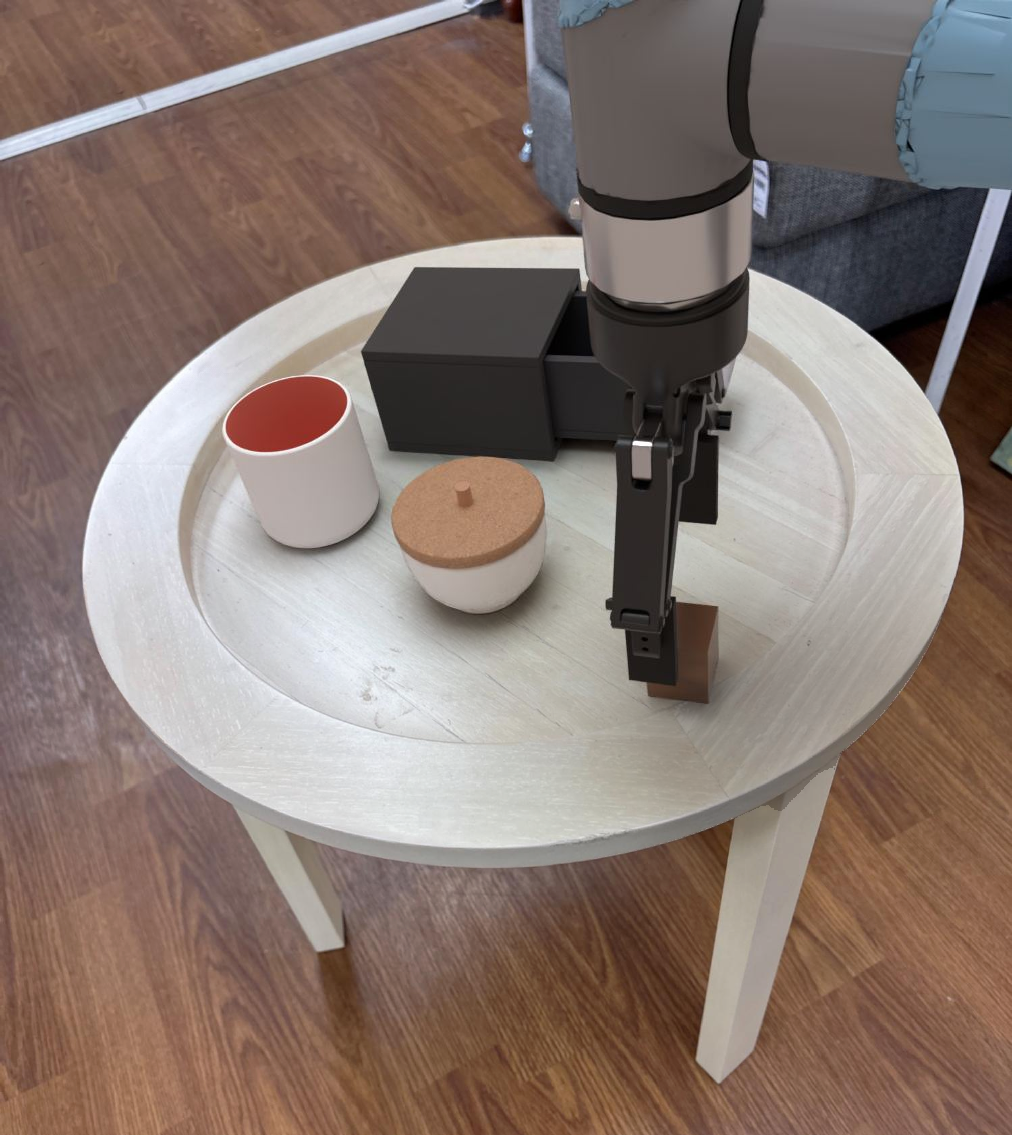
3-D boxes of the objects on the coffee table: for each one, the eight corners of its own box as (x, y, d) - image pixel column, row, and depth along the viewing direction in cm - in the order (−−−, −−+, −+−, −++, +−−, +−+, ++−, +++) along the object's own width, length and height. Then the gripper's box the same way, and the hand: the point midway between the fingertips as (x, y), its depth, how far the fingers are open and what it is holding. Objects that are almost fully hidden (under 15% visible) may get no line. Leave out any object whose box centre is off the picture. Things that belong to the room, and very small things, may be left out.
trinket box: (586, 572, 78) (573, 471, 71) (484, 660, 74) (459, 562, 67) (485, 517, 84) (464, 418, 77) (385, 595, 80) (353, 499, 73)
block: (718, 657, 71) (718, 605, 67) (708, 703, 69) (707, 652, 65) (659, 650, 72) (656, 599, 69) (647, 695, 70) (643, 645, 66)
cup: (377, 548, 84) (343, 445, 76) (255, 562, 85) (210, 462, 77) (387, 468, 90) (357, 366, 83) (274, 482, 91) (234, 382, 84)
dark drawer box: (590, 370, 95) (579, 267, 88) (553, 461, 87) (538, 357, 80) (436, 364, 99) (414, 266, 92) (389, 450, 92) (360, 351, 85)
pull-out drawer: (744, 370, 90) (745, 284, 84) (721, 457, 83) (721, 370, 77) (540, 363, 95) (528, 281, 89) (503, 444, 88) (487, 361, 82)
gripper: (642, 146, 57) (656, 459, 73) (512, 433, 43) (565, 747, 59) (784, 144, 55) (767, 467, 71) (700, 445, 40) (702, 768, 56)
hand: (676, 594), depth 65 cm, fingers open, 13 cm apart
